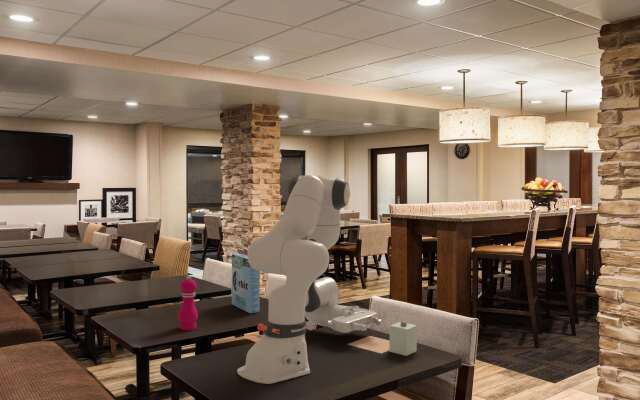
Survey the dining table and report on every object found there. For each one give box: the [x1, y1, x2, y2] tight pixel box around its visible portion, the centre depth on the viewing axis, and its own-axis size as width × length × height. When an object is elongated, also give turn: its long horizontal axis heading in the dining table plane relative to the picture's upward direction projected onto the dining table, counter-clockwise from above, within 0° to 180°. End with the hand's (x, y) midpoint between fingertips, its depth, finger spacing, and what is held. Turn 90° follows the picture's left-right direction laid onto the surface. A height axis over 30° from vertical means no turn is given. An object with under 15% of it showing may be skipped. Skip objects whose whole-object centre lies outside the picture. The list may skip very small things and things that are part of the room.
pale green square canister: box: [388, 320, 418, 357], centre depth 182 cm, size 7×7×10 cm
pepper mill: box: [177, 274, 199, 331], centre depth 204 cm, size 7×7×20 cm
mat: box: [347, 335, 390, 354], centre depth 189 cm, size 14×14×1 cm
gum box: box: [231, 252, 261, 314], centre depth 237 cm, size 20×5×23 cm, turn 32°
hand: (373, 325), depth 189 cm, fingers open, 8 cm apart
